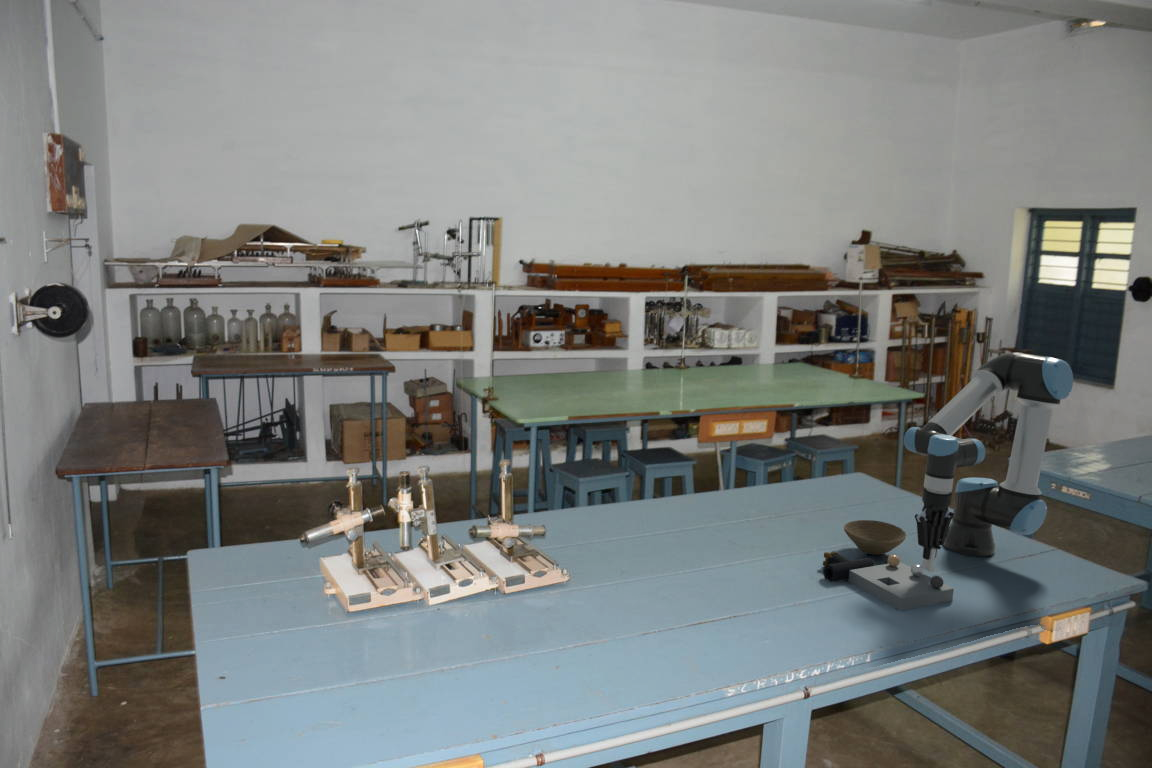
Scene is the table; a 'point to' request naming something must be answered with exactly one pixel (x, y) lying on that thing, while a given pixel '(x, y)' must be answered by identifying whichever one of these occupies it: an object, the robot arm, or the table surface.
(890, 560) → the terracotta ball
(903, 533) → the bowl
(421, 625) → the table surface
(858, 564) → the pipe connector
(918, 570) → the steel ball
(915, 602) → the slate board
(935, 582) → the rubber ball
